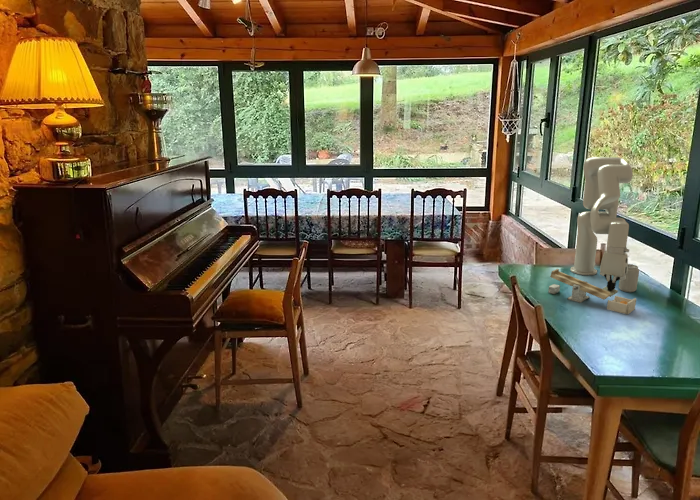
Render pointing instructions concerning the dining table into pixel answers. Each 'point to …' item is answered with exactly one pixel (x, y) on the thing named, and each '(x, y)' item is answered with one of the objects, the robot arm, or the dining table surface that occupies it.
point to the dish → (621, 305)
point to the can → (630, 279)
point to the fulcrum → (576, 292)
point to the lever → (583, 285)
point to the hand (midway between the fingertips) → (610, 289)
